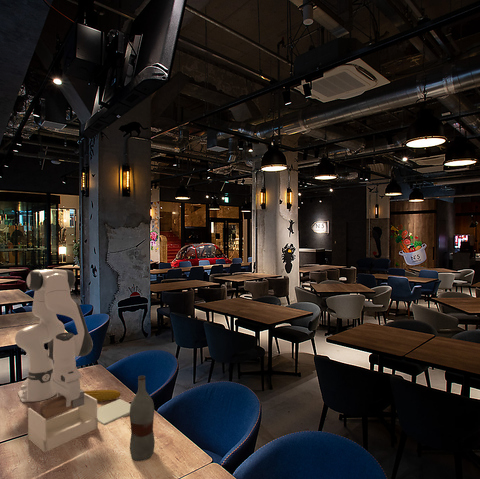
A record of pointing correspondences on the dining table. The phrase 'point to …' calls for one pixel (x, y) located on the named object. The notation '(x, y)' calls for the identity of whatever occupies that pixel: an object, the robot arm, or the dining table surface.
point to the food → (103, 394)
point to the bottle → (141, 424)
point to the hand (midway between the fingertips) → (64, 403)
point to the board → (113, 411)
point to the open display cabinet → (62, 425)
